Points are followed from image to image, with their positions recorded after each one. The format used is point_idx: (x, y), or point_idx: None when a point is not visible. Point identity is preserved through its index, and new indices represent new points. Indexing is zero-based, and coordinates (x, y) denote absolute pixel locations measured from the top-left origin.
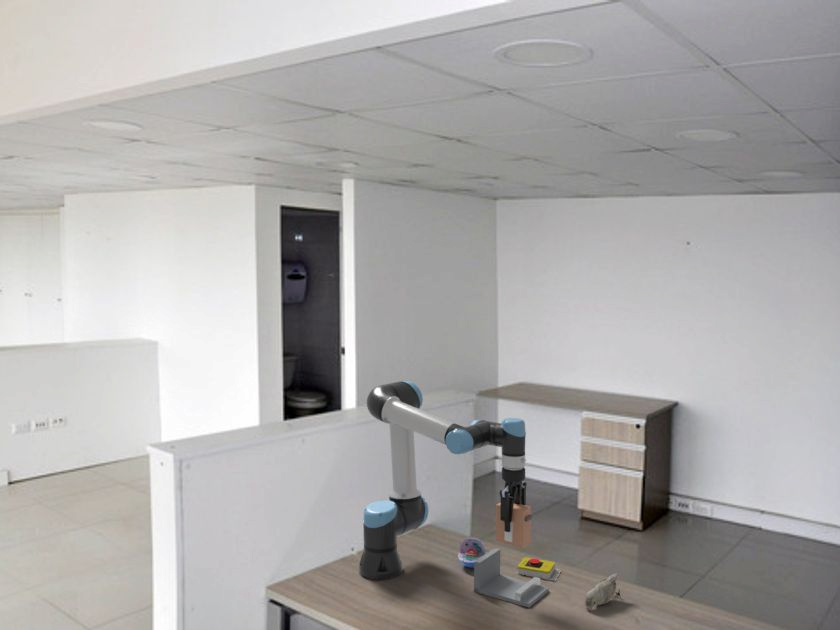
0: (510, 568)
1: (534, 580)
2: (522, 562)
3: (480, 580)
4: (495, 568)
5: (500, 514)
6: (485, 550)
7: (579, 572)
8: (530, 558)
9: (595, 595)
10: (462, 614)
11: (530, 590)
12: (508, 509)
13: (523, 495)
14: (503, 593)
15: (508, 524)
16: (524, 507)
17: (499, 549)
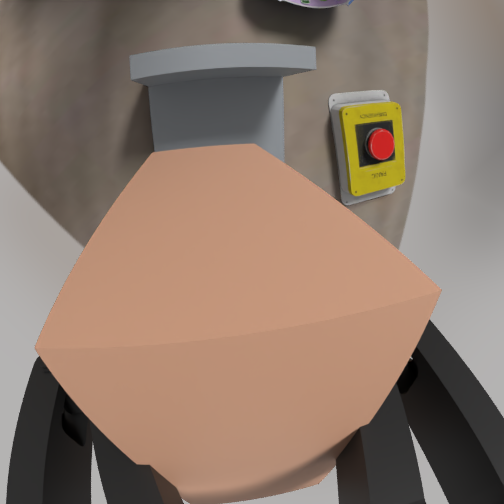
0: (349, 77)
1: None
2: (370, 109)
3: (151, 83)
4: (259, 73)
5: (23, 402)
6: (347, 1)
7: (399, 225)
8: (400, 119)
9: None
10: (32, 147)
11: None
12: (82, 491)
13: (439, 477)
14: None
15: None
16: (269, 491)
17: (312, 67)
